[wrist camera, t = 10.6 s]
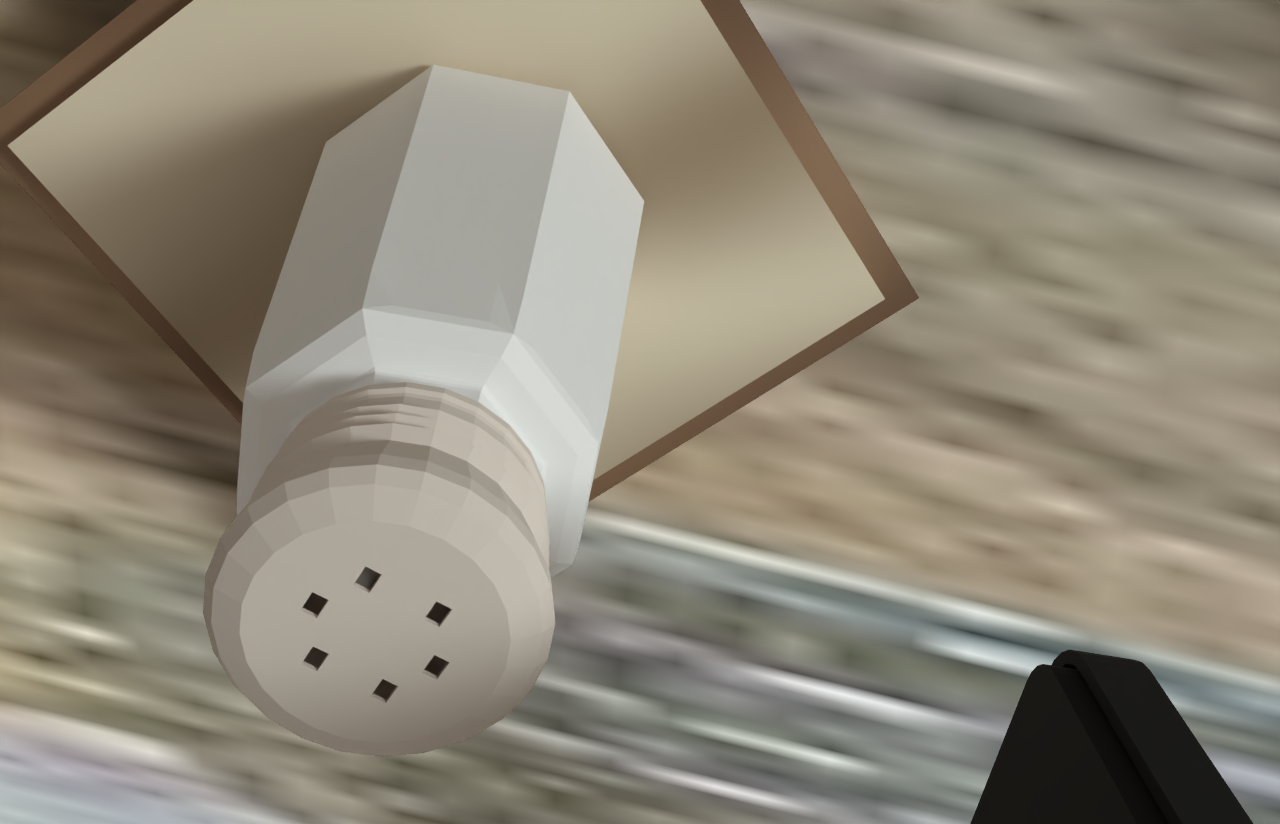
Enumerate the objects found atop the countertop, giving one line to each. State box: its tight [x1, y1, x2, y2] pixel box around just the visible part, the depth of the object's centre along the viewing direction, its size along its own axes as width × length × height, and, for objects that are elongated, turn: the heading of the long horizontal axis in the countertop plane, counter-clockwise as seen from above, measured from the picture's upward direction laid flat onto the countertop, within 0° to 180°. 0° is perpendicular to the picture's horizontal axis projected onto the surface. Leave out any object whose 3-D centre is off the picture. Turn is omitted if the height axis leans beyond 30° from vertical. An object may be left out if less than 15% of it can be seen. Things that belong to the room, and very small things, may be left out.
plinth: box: [0, 0, 919, 501], centre depth 21 cm, size 11×11×4 cm
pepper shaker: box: [203, 65, 644, 756], centre depth 15 cm, size 5×5×11 cm
